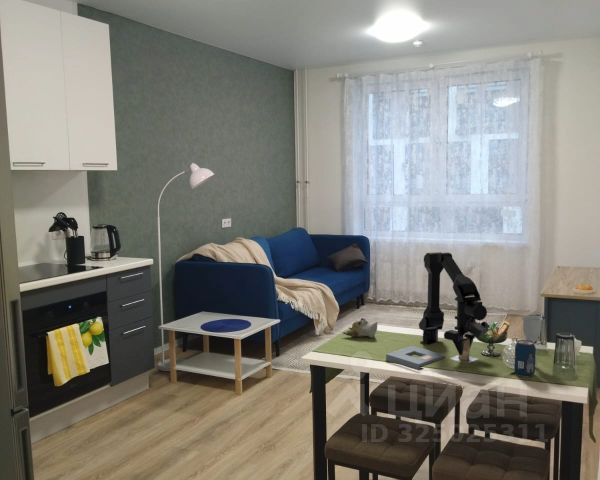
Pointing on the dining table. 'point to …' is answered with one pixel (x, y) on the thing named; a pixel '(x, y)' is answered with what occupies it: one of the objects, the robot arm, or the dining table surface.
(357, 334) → the ceramic sculpture
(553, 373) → the dining table surface
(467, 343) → the peg
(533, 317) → the chalice
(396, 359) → the hole plate
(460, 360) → the plate
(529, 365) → the soda can
